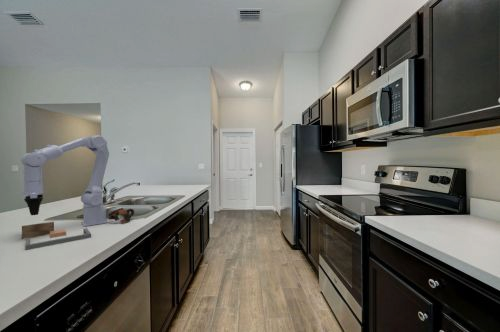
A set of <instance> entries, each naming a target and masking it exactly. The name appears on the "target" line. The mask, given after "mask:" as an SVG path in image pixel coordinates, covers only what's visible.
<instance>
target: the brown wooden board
mask: <svg viewBox="0 0 500 332" xmlns="http://www.w3.org/2000/svg"><path fill="white" fill-rule="evenodd" d="M50 231H55V221H47V222H42V223H35V224H34V223H33V224H27V225H26V224H25V225H21V239H22V240H23V239H26V238H30V239H31V238H36V237H41V236H47V235H50Z"/></svg>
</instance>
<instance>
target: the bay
mask: <svg viewBox="0 0 500 332" xmlns="http://www.w3.org/2000/svg"><path fill="white" fill-rule="evenodd" d="M89 238H92V233H91V231H90V230H89V229H88V228H87V227H86V228H83V234H77V235H72V236H66V237H60V238H56V239H50V240H46V241H39V242H34V243H31V237H30V238H25V247H24V248H25V251H27V250H32V249H38V248H42V247H47V246H53V245H59V244H64V243H70V242H74V241H78V240H84V239H85V240H86V239H89Z"/></svg>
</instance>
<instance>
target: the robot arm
mask: <svg viewBox="0 0 500 332" xmlns="http://www.w3.org/2000/svg"><path fill="white" fill-rule="evenodd" d="M80 147H82V148H87V149H88V150H90V151H92V153H93V154H94V155H95V159H94V163H93V167H92V171H91V174H90V180H89V183H88V186H87V187H86V188H85V189H84V192H83V194H81V197H80V201H81V203H82V204H83V205H82V209H83V210H82V211H83V217H82V218H83V222H81V224H82V226H83V227H88V226H94V225H102V224H106V223H107V207H106V204H102V203H103V200H104V197H103V189H102V185H103V180H104V177H105V173H106V170H107V169H106V168H107V165H108V161H109V157H110V152H109V148H108V141H107V140H106V138H104V136H102V135H98V134H95V135H93V136H92V135H89V136H86V137H85V136H84V137H81V138H77V139H75V140H71V141H69V142H67V143H64V144H61V145H56V144H47V145H46V147H44V148H40V149H34V150H33V152H28V153H24V155H23V156H22V157H21V158H20V162H21V164H23V186H24V187H23V189H24V190H23V191H22V192H20V195H23V196H24V195H26V196H25V198H24V199H23V200H24V202H25V203H26V205H27V206H28V207H27V208H28V210H29V214H30V216H37V215H39V212H40V207H41V203H42V201H43V199H44V197H43V196H44V195H43V194H44V183H43V182H44V181H43V178H44V177H43V168H42V167H43V164H44V163H49V162H50V161H52V160H56V159H58V158H61V157H62V156H63V153H65V152H68V151H72V150H74V149H77V148H80Z"/></svg>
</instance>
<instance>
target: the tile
mask: <svg viewBox="0 0 500 332" xmlns="http://www.w3.org/2000/svg"><path fill="white" fill-rule="evenodd" d="M65 236H66V237H67V231H66V229H65V228H62V229H57V230H54V231H50V234H49V238H50V239H54V238H58V237H60V238H61V237H65Z"/></svg>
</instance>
